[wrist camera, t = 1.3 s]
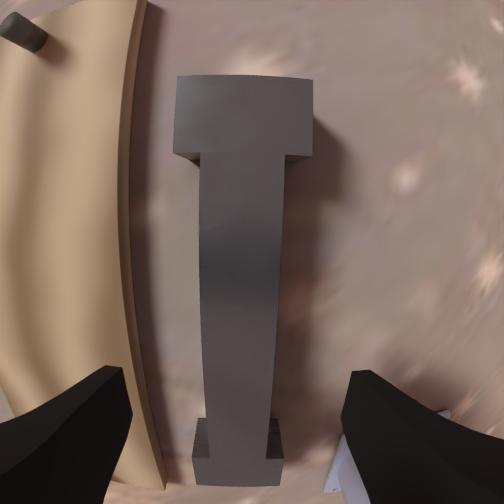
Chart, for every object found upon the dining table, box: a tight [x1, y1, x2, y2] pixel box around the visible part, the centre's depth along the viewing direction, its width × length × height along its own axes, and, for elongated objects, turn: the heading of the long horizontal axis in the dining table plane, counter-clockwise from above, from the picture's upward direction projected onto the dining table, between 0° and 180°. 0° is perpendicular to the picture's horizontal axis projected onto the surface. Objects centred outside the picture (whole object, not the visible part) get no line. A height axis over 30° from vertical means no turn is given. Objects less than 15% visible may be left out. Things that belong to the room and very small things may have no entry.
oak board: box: [0, 0, 168, 491], centre depth 13 cm, size 12×32×4 cm, turn 178°
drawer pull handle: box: [173, 75, 313, 487], centre depth 14 cm, size 5×21×4 cm, turn 178°
